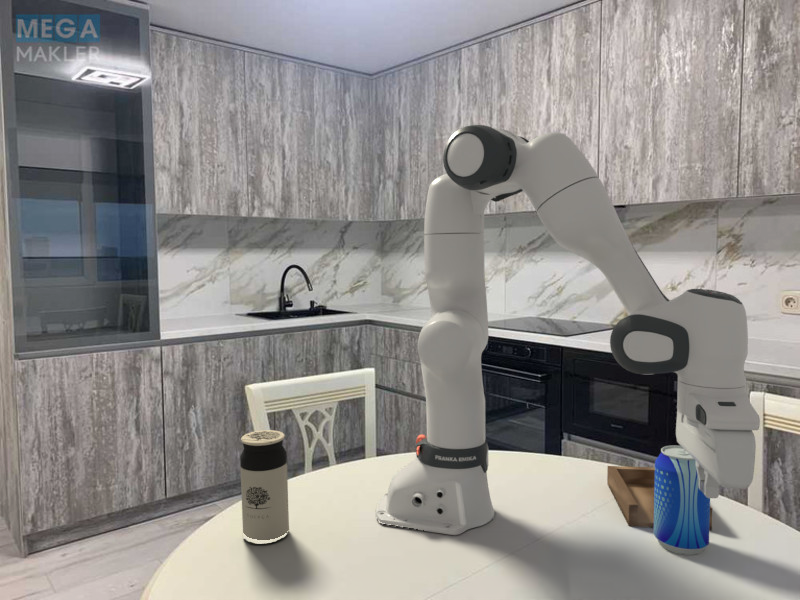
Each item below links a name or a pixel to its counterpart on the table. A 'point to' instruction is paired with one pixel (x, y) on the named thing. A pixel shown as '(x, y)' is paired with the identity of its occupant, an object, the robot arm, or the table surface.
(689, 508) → the beer can
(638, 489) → the open box
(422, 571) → the table surface
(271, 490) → the travel mug
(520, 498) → the table surface
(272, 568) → the table surface
